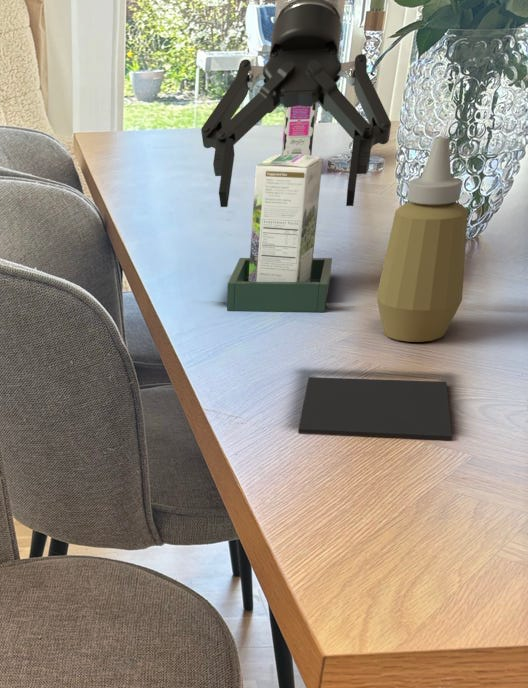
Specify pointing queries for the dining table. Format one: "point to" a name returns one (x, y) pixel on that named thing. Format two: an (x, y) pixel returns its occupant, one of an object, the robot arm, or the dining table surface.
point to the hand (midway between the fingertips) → (285, 199)
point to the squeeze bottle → (425, 255)
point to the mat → (376, 408)
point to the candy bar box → (298, 130)
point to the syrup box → (284, 218)
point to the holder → (279, 290)
